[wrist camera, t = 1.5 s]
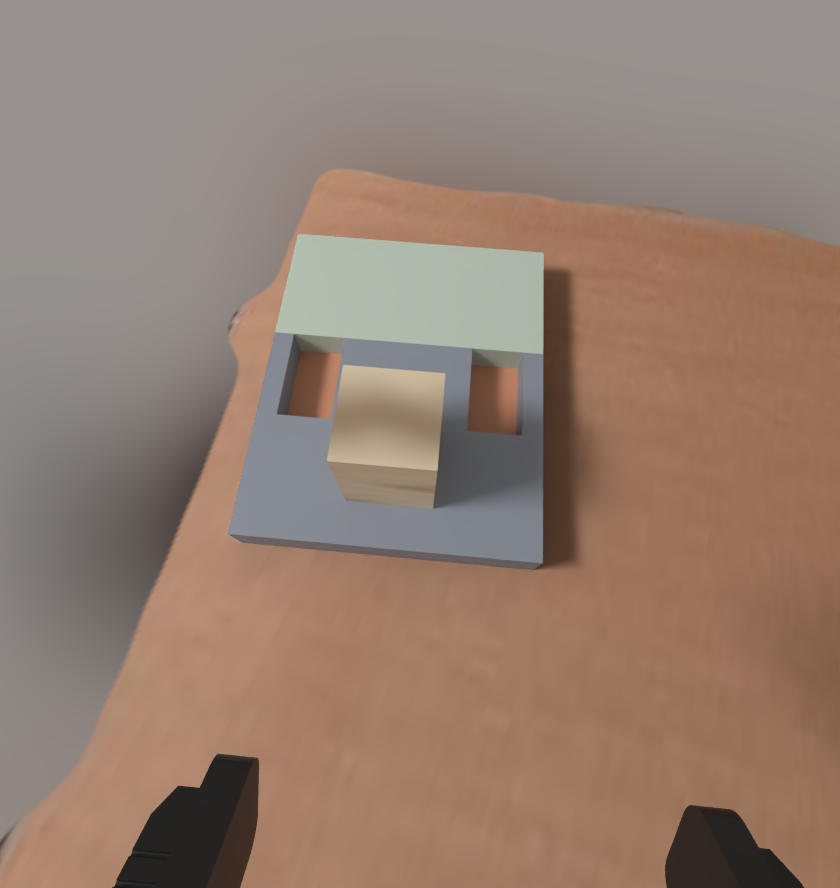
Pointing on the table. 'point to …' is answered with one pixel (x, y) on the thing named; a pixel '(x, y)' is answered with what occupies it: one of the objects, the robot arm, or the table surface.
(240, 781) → the robot arm
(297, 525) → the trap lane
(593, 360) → the table surface
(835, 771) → the table surface
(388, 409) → the birch block
